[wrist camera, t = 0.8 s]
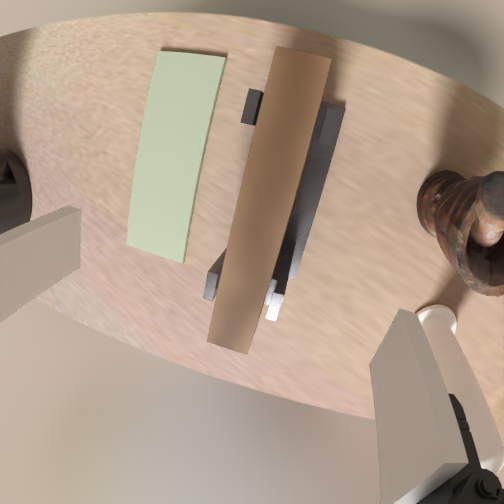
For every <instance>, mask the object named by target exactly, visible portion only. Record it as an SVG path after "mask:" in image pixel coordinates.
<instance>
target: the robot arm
mask: <svg viewBox="0 0 504 504" xmlns="http://www.w3.org/2000/svg"><path fill="white" fill-rule="evenodd" d="M31 207H32V200H31V189H30V184H29V180H28V176H27V173H26V171H25V168H24V166H23V164H22V162H21V161H20V159H19V158H18V157H17V156H16V155H15V154H14V153H13V152H11V151H8V150H3V151H0V323H1V322H2V321H4V320H5V319H6V318H8V317H9V316H10V315H12V314H13V313H14V312H16V311H17V310H18V309H20V308H21V307H23V306H24V305H25V304H27V303H28V302H29V301H31V300H32V299H34V298H35V297H37V296H38V295H40V294H41V293H42V292H44V291H45V290H47V289H48V288H50V287H51V286H53V285H54V284H56V283H57V282H59V281H60V280H62V279H63V278H64V277H66V276H67V275H69V274H71V273H72V272H74V271H75V270H77V269H78V268H80V228H81V209H78V208H75V207H72V206H66V207H64V208H61V209H58V210H56V211H53V212H51V213H48V214H46V215H44V216H41V217H39V218H36V219H34V220H32V221H29V220H30V216H31ZM369 366H370V374H371V381H372V390H373V399H374V408H375V418H376V428H377V429H376V430H377V442H378V458H379V478H380V504H504V489H502V486H501V483H500V481H499V479H498V477H497V476H496V475H495V474H494V473H493V472H491V471H489V470H488V469H482V468H481V465H480V461H479V457H478V454H477V450H476V447H475V444H474V440H473V437H472V434H471V432H470V431H469V430H470V427H469V424H468V421H466V419H467V418H466V415H465V412H464V410H463V407H462V405H461V404H460V402H459V401H458V399H457V398H456V397H455V395H454V394H450V393H448V392H447V389H446V386H445V383H444V381H443V378H442V375H441V372H440V370H439V367H438V364H437V362H436V359H435V357H434V354H433V351H432V349H431V346H430V344H429V342H428V339H427V337H426V334H425V332H424V329H423V327H422V325H421V322H420V320H419V318H418V316H417V314H416V313H413V312H410V311H406V310H403V309H399V311H398V313H397V315H396V317H395V318H394V320H393V322H392V324H391V326H390V328H389V330H388V332H387V334H386V335H385V337H384V339H383V341H382V343H381V344H380V346H379V348H378V350H377V352H376V353H375V355H374V357H373V359H372V360H371V362H370V364H369Z"/></svg>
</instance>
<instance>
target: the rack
mask: <svg viewBox="0 0 504 504" xmlns="http://www.w3.org/2000/svg"><path fill="white" fill-rule="evenodd" d="M263 95H264V93H263V92H262V91H259V90H255V89H250V88H249V91H248V95H247V99H246V103H245V107H244V111H243V115H242V119H241V123H245V124H250V125H255V126H256V123H257V119H258V115H259V111H260V107H261V103H262V99H263ZM344 112H345V108H341V107H338V106H335V105H331V104H328V103H325V102H321V105H320V109H319V113H318V117H317V120H316V124H315V128H314V132H313V135H312V139H311V143H310V146H309V150H308V154H307V157H306V161H305V164H304V168H303V172H302V175H301V179H300V182H299V186H298V189H297V193H296V196H295V200H294V203H293V207H292V210H291V214H290V217H289V221H288V224H287V228H286V231H285V235H284V238H283V241H282V245H281V248H280V252H279V255H278V258H277V262H276V265H275V268H274V272H273V275H272V278H271V282H270V285H269V288H268V291H267V295H266V298H265V301H264V304H267V305H269V309H268V312H267V315H266V318H267V319H270V320H273V321H276V318H277V315H278V312H279V309H280V306H281V303H282V301H283V298H284V294H285V290H286V285H287V281H288V278H291V279H294V278H295V275H296V272H297V269H298V266H299V263H300V260H301V257H302V254H303V251H304V248H305V244H306V241H307V238H308V235H309V232H310V229H311V226H312V222H313V219H314V216H315V213H316V209H317V206H318V203H319V200H320V196H321V193H322V190H323V186H324V183H325V180H326V176H327V173H328V169H329V166H330V162H331V159H332V156H333V152H334V148H335V145H336V141H337V138H338V134H339V131H340V127H341V123H342V119H343V116H344ZM226 250H227V248H226V249H225V251H224V252H223V253H222V254H221V256H220V257H219V258H218V259H217V261H216V262H215V263H214V265H213V266H212V267H211V268H210V270H209V271H208V274H207V279H206V284H205V289H204V294H203V298H205V299H208V300H211V301H213V299H214V297H215V296H216V294H217V291H218V286H219V281H220V277H221V272H222V268H223V263H224V259H225V254H226Z"/></svg>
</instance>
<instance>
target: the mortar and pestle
mask: <svg viewBox="0 0 504 504" xmlns="http://www.w3.org/2000/svg"><path fill="white" fill-rule="evenodd" d="M417 212H418V217H419V220H420V223H421V225H422V226H423V228H424V229H425V230H426V231H427V232H428V233H429V234H430V235H432V236H434V237H436V238H437V240H438V242H439V245H440V247H441V249H442V251H443V253H444V255H445V256H446V258H447V259H448V260H449V262H450V263H451V264H452V266H453V267H454V268H455V269H456V271H457V272H458V273H459V274H460V276H461V277H462V279H463V280H464V281H465V283H466V284H467V285H468V286H469V287H470V288H471V289H472V290H474V291H475V292H478V293H480V294H482V295H486V296H496V297H499V296H502V295H504V172H502V171H496V172H492V173H490V174H489V175H487V176H485V177H481V176H476V177H471V178H470V179H464V178H463V177H462V176H461V175H460V174H457V173H455V172H452V171H442V172H439V173H436V174H435V175H433V176H432V177H431V178H430V179H428V180H427V181H426V182H425V183H424V185H423V186H422V188H421V190H420V191H419V194H418V197H417Z"/></svg>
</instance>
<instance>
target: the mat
mask: <svg viewBox="0 0 504 504" xmlns="http://www.w3.org/2000/svg"><path fill="white" fill-rule="evenodd" d="M226 60H227V58H225V57H219V56H211V55H202V54H193V53H182V52H169V51H158V54H157V58H156V62H155V66H154V70H153V74H152V79H151V83H150V87H149V92H148V96H147V101H146V106H145V111H144V116H143V121H142V126H141V132H140V138H139V143H138V150H137V156H136V162H135V169H134V176H133V184H132V192H131V200H130V209H129V219H128V230H127V242H126V245H128V246H131V247H134V248H137V249H139V250H142V251H145V252H148V253H151V254H154V255H157V256H160V257H163V258H166V259H169V260H172V261H175V262H178V263H181V264H183V263H184V261H185V254H186V248H187V242H188V236H189V231H190V225H191V219H192V214H193V208H194V203H195V198H196V192H197V187H198V182H199V177H200V172H201V167H202V162H203V157H204V153H205V148H206V143H207V139H208V134H209V130H210V125H211V121H212V117H213V112H214V108H215V104H216V100H217V96H218V92H219V88H220V84H221V80H222V76H223V72H224V68H225V64H226Z"/></svg>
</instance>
